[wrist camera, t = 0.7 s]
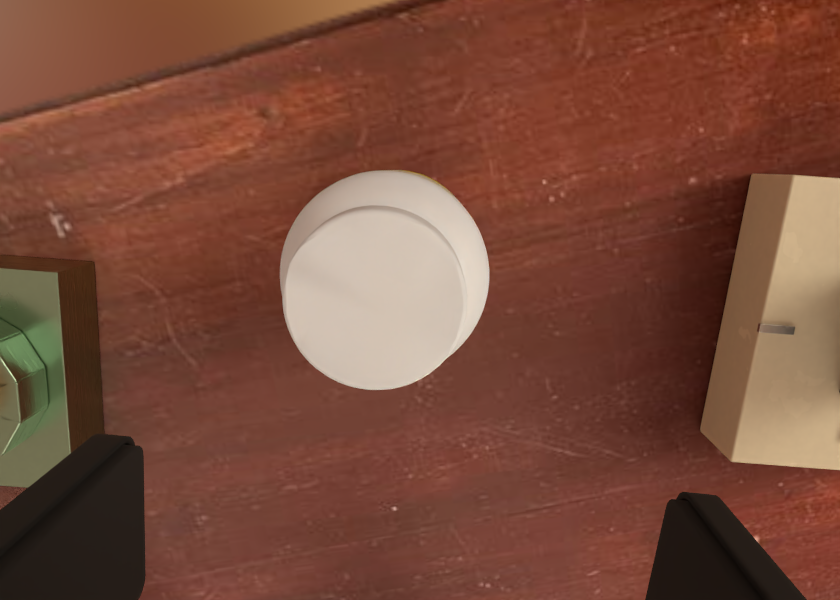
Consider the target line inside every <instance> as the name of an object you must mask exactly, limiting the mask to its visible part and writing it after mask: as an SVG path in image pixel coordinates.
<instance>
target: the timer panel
mask: <svg viewBox="0 0 840 600" xmlns="http://www.w3.org/2000/svg"><path fill="white" fill-rule="evenodd" d="M839 391H840V178H830V177H817V176H803V175H784V174H752V175H751V179H750V184H749V189H748V193H747V198H746V203H745V208H744V213H743V218H742V223H741V228H740V233H739V238H738V243H737V248H736V253H735V258H734V263H733V268H732V273H731V278H730V283H729V288H728V293H727V298H726V302H725V307H724V312H723V317H722V322H721V327H720V332H719V337H718V342H717V347H716V352H715V357H714V362H713V367H712V372H711V377H710V382H709V387H708V392H707V397H706V402H705V407H704V411H703V416H702V421H701V426H700V431H701V432H702V433H703V434H704V435H705V436H706V437H707V438H708V439H709V440H710V441H711V442H712V443H713V444H714V445H715V446H716V447H717V448H718V449H719V450H720V451H721V452H722V453H723V454H724V455H725V456H726V457H727V458H728V459H729V460H730V461H731V462H740V463H753V464H766V465H779V466H792V467H805V468H819V469H832V470H840V393H839Z"/></svg>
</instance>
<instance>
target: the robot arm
mask: <svg viewBox="0 0 840 600" xmlns="http://www.w3.org/2000/svg"><path fill="white" fill-rule="evenodd" d="M144 582H145V524H144V462H143V450H142V448H141V447H140V446H135V443H134V441H133V439H132V438H131V437H128V436H118V435H108V434H95V435H93V436H91V437H90V438H89V439H88V440H86V441H85V442H84V443H83V444H82V445H80V446H79V447H78V448H77V449H75V450H74V451H73V452H72V453H70V454H69V455H68V456H67V457H65V458H64V459H63V460H62V461H61V462H59V463H58V464H57V465H56V466H54V467H53V468H52V469H51V470H49V471H48V472H47V473H46V474H44V475H43V476H42V477H41V478H39V479H38V480H37V481H36V482H35V483H33V484H32V485H31V486H30V487H28V488H27V489H26V490H25V491H23V492H22V493H21V494H20V495H18V496H17V497H16V498H15V499H14V500H12V501H11V502H10V503H9V504H7V505H6V506H5V507H4V508H2V509H1V510H0V600H138V599H139V597H140V595H141V593H142V590H143V586H144ZM645 600H806V598H805V597H804V596H803V595H802V594H801V593H800V591H799V590H798V589H797V588H796V587H795V586H794V584H793V583H792V582H791V581H790V580H789V579H788V577H787V576H786V575H785V574H784V573H783V571H782V570H781V569H780V568H779V567H778V566H777V564H776V563H775V562H774V561H773V560H772V559H771V557H770V556H769V555H768V554H767V553H766V552H765V550H764V549H763V548H762V547H761V546H760V545H759V543H758V542H757V541H756V540H755V539H754V538H753V536H752V535H751V534H750V533H749V532H748V530H747V529H746V528H745V527H744V526H743V525H742V523H741V522H740V521H739V520H738V519H737V518H736V516H735V515H734V514H733V513H732V512H731V511H730V509H729V508H728V507H727V506H726V505H725V504H724V502H723V501H722V500H721V499H720V498H719V497H718V496H716V495H709V494H699V493H689V492H682V493H680V494H679V495H678V497H677V499H676V500H675V499H671V500H669V502H668V503H667V507H666V510H665V515H664V519H663V524H662V528H661V533H660V537H659V541H658V546H657V550H656V555H655V559H654V564H653V568H652V573H651V577H650V582H649V586H648V590H647V595H646V599H645Z"/></svg>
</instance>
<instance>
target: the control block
mask: <svg viewBox="0 0 840 600" xmlns="http://www.w3.org/2000/svg"><path fill="white" fill-rule="evenodd" d="M95 434H104V420H103V403H102V386H101V369H100V352H99V335H98V318H97V301H96V284H95V267H94V262H92V261H78V260H65V259H52V258H39V257H25V256H12V255H0V486H12V487H25V488H28V487H30V486H31V485H32V484H33V483H35V482H36V481H37V480H38V479H39V478H41V477H42V476H43V475H44V474H46V473H47V472H48V471H49V470H51V469H52V468H53V467H54V466H56V465H57V464H58V463H59V462H61V461H62V460H63V459H64V458H65V457H67V456H68V455H69V454H70V453H72V452H73V451H74V450H75V449H77V448H78V447H79V446H80V445H82V444H83V443H84V442H85V441H86V440H88V439H89V438H90V437H91V436H93V435H95Z"/></svg>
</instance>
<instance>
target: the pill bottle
mask: <svg viewBox="0 0 840 600" xmlns="http://www.w3.org/2000/svg"><path fill="white" fill-rule="evenodd" d="M280 286H281V292H282V303H283V312H284V317H285V321H286V324H287V327H288V330H289V332H290V334H291V337H292V338H293V341H294V342H295V344H296V346H297V347H298V349H299V351H300V352H301V353H302V355H303V356H304V357H305V358H306V359H307V360H308V361H309V363H311V364H312V365H313V366H314V367H315V368H316V369H318V370H319V371H320V372H322V373H323V374H325V375H326V376H328V377H329V378H331V379H333V380H335V381H337V382H339V383H342V384H345V385H347V386H351V387H354V388H360V389H366V390H384V389H394V388H398V387H402V386H405V385H408V384H411V383H413V382H416V381H418V380H420V379H421V378H423V377H425V376H427V375H428V374H430V373H431V372H432V371H433V370H435V369H436V368H437V367H438V366H440V365H441V364H442V362H443V361H444V360H445V359H446V358H448V357H449V356H450V355H451V354H453V353H454V352H455V351H456V350H457V349H458V348H459V347H460V346H461V345H462V344H463V343H464V342H465V341H466V339H467V338H468V337H469V335H470V334H471V333H472V331H473V329H474V328H475V326H476V325H477V323H478V321H479V319H480V317H481V314H482V312H483V309H484V306H485V302H486V299H487V294H488V287H489V263H488V256H487V252H486V248H485V245H484V241H483V239H482V236H481V234H480V231H479V229H478V227H477V225H476V224H475V222H474V220H473V218H472V217H471V216H470V214H469V213H468V212H467V210H466V209H465V208H464V206H463V205H462V204H461V203H460V202H459V201H458V200H457V199H456V197H455V196H454V195H453V194H452V193H451V192H450V191H449V190H448V189H446V188H445V187H444V186H443V185H441V184H440V183H438V182H437V181H435V180H434V179H432V178H430V177H427V176H425V175H423V174H419V173H416V172H412V171H405V170H378V171H369V172H363V173H359V174H355V175H352V176H349V177H347V178H344V179H342V180H340V181H337V182H336V183H334V184H332V185H330V186H329V187H327V188H326V189H324V190H323V191H321V192H320V193H319V194H317V195H316V196H315V197H314V198H313V199H312V200H311V201H310V202H309V203H308V204H307V205H306V206H305V207H304V208H303V210H302V211H301V212H300V214H299V215H298V216H297V218H296V219H295V221H294V223H293V225H292V226H291V228H290V230H289V233H288V235H287V238H286V240H285V243H284V247H283V251H282V255H281V262H280Z"/></svg>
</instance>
